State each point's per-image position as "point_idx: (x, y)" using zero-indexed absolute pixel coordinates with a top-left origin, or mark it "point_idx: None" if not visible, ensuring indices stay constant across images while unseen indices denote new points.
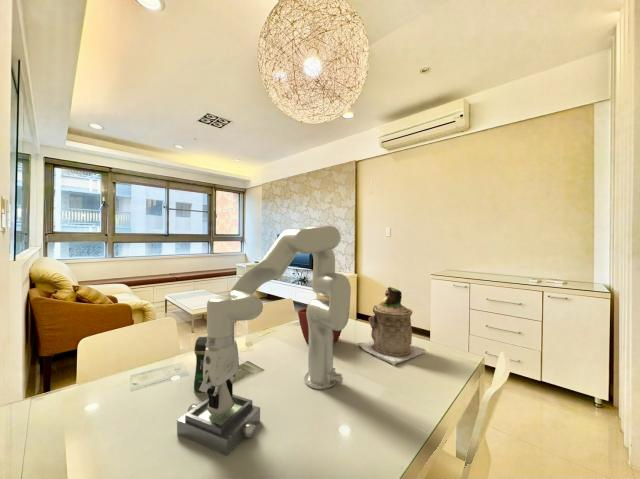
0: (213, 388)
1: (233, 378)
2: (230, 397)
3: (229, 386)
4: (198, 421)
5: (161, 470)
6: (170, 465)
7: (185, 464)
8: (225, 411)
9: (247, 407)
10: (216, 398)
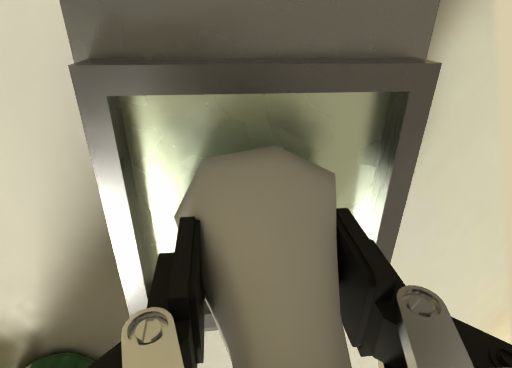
0: (83, 365)
1: (130, 354)
2: (227, 208)
3: (198, 296)
4: (394, 234)
5: (491, 186)
6: (470, 178)
7: (460, 135)
8: (296, 158)
9: (146, 61)
10: (381, 263)
